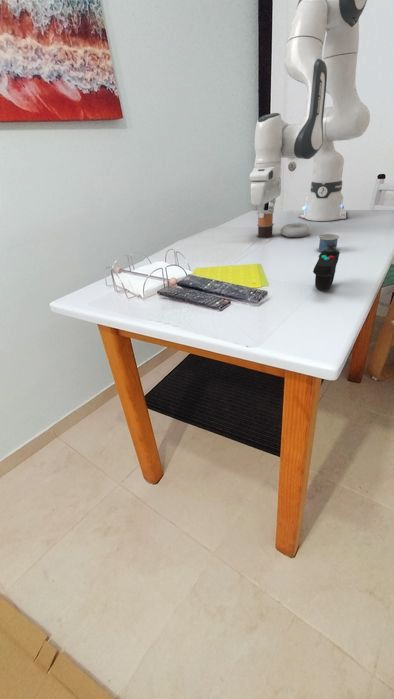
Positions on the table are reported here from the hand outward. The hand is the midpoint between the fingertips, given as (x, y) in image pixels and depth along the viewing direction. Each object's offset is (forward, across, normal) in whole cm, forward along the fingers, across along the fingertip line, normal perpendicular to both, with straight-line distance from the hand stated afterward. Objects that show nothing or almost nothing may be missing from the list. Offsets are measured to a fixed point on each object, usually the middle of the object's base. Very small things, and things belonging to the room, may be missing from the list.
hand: (266, 214), depth 122 cm
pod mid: (+3, 0, 0) cm, 3 cm away
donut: (+8, -4, +10) cm, 13 cm away
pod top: (+8, +12, +25) cm, 29 cm away
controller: (+7, +44, +31) cm, 55 cm away
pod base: (+8, 0, 0) cm, 8 cm away
